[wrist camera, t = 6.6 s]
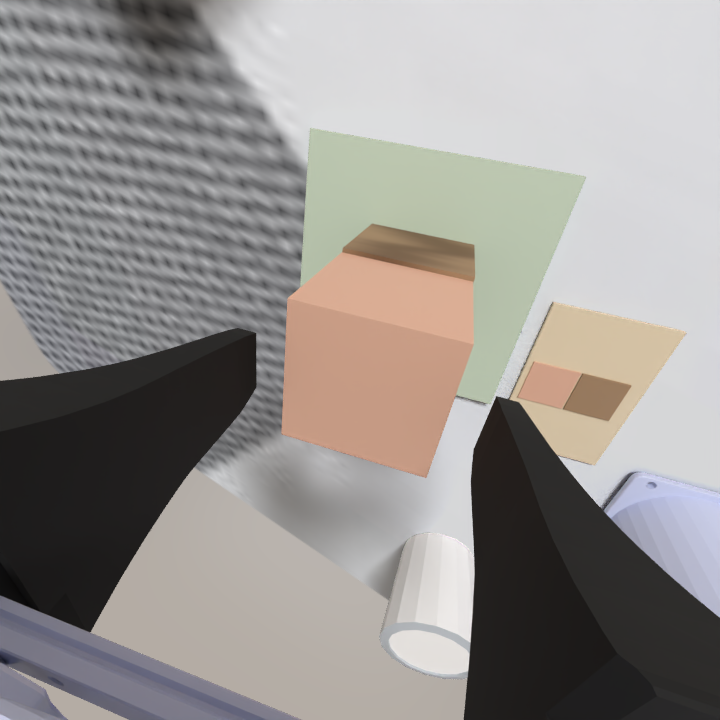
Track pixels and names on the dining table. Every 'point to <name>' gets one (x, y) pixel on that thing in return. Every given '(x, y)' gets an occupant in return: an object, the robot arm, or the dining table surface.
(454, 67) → the dining table surface
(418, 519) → the dining table surface
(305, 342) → the terracotta block
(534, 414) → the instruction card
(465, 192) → the plate
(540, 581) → the robot arm
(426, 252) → the walnut block
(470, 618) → the white cup
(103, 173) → the dining table surface
